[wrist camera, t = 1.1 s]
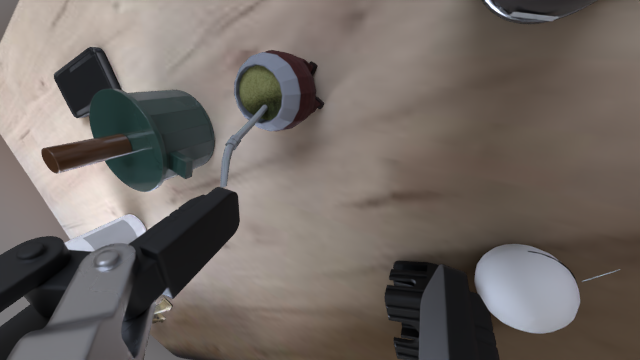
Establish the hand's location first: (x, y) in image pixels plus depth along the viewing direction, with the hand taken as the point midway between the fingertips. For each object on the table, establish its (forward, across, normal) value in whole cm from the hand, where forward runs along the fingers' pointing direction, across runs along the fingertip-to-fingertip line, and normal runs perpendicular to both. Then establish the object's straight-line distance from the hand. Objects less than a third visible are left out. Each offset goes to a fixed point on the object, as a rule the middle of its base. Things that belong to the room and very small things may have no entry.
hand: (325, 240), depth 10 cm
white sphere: (+17, -17, +11) cm, 26 cm away
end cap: (+16, -11, +20) cm, 28 cm away
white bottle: (+19, +44, +36) cm, 60 cm away
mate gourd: (+20, +10, +1) cm, 22 cm away
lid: (+13, +29, +9) cm, 33 cm away
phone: (+22, +49, +8) cm, 54 cm away
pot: (+20, +28, +10) cm, 36 cm away
